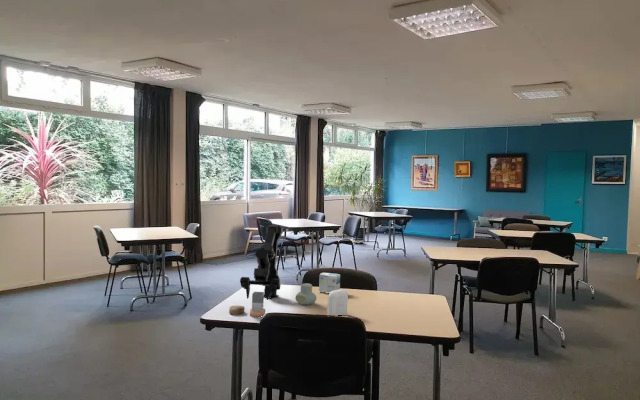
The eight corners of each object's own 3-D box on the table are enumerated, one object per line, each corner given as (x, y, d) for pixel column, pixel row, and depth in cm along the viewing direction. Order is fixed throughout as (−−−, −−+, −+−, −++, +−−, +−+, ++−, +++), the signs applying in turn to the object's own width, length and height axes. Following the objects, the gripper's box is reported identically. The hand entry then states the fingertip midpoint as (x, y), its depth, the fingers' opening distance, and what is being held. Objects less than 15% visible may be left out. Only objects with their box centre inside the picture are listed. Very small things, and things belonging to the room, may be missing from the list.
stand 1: (237, 309, 210) (237, 304, 210) (247, 312, 206) (247, 307, 206) (226, 312, 205) (226, 307, 205) (236, 316, 201) (236, 310, 200)
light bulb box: (339, 292, 251) (340, 274, 250) (336, 295, 245) (336, 276, 244) (322, 290, 255) (323, 271, 254) (318, 292, 248) (319, 274, 248)
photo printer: (343, 312, 213) (344, 287, 212) (348, 315, 209) (349, 289, 208) (325, 315, 207) (326, 289, 206) (330, 318, 203) (331, 292, 203)
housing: (253, 308, 205) (254, 291, 205) (263, 308, 205) (263, 292, 205) (251, 311, 201) (252, 294, 201) (261, 311, 201) (261, 294, 200)
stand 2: (257, 311, 208) (257, 306, 208) (268, 315, 204) (268, 309, 204) (246, 315, 202) (246, 310, 202) (257, 318, 198) (257, 313, 198)
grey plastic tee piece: (292, 303, 225) (293, 284, 225) (302, 300, 232) (303, 281, 232) (309, 307, 219) (309, 287, 218) (318, 304, 225) (319, 285, 225)
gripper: (241, 260, 206) (234, 288, 196) (280, 262, 205) (275, 291, 195) (245, 272, 215) (238, 301, 204) (282, 275, 213) (277, 303, 203)
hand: (257, 299), depth 201 cm, fingers open, 9 cm apart
